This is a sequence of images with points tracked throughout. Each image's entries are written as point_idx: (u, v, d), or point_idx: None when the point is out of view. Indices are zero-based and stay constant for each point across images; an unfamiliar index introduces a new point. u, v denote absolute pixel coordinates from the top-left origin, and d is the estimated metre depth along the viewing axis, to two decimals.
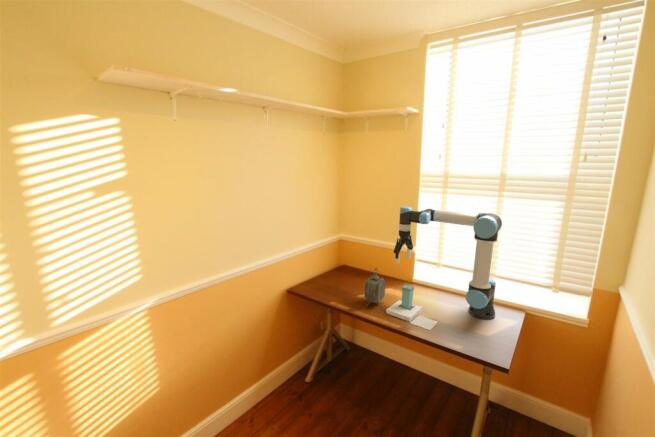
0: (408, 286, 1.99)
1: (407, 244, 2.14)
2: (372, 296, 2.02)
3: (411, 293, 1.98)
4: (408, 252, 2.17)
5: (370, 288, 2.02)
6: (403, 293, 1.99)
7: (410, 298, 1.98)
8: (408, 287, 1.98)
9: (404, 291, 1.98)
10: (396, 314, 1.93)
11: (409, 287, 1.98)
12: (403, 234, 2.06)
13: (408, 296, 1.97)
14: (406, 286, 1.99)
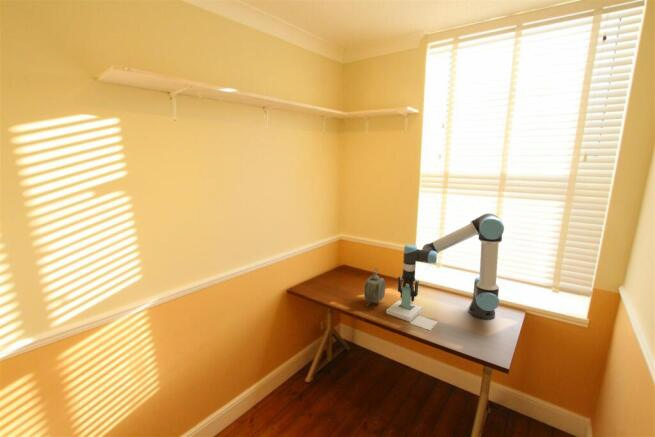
0: (408, 286, 1.99)
1: None
2: (372, 296, 2.02)
3: None
4: None
5: (370, 288, 2.02)
6: (403, 293, 1.99)
7: None
8: (408, 287, 1.98)
9: (404, 291, 1.98)
10: (396, 314, 1.93)
11: (409, 287, 1.98)
12: None
13: (408, 296, 1.97)
14: (406, 286, 1.99)
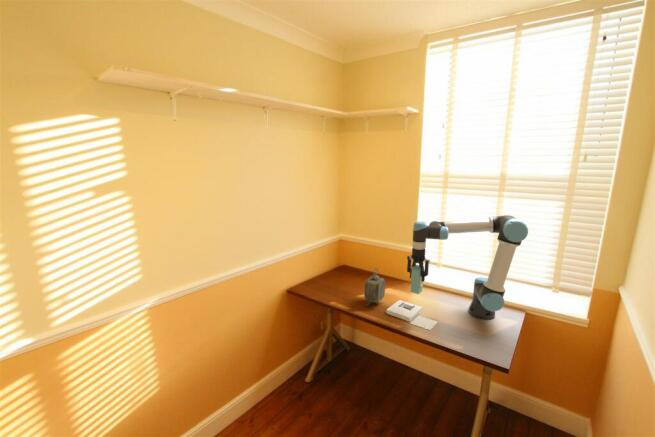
0: (418, 266, 1.89)
1: None
2: (372, 296, 2.02)
3: None
4: None
5: (370, 288, 2.02)
6: (413, 273, 1.89)
7: None
8: (418, 267, 1.88)
9: (413, 271, 1.88)
10: (396, 314, 1.93)
11: (419, 267, 1.88)
12: (412, 250, 1.88)
13: (417, 276, 1.87)
14: (416, 266, 1.89)
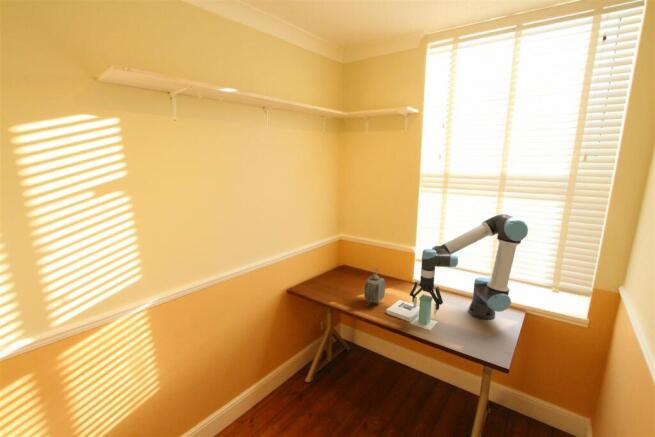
0: (426, 296, 1.84)
1: None
2: (372, 296, 2.02)
3: (429, 304, 1.83)
4: None
5: (370, 288, 2.02)
6: (421, 304, 1.83)
7: (428, 309, 1.82)
8: (426, 297, 1.82)
9: (421, 302, 1.83)
10: (396, 314, 1.93)
11: (427, 297, 1.82)
12: None
13: (426, 307, 1.81)
14: (424, 296, 1.84)
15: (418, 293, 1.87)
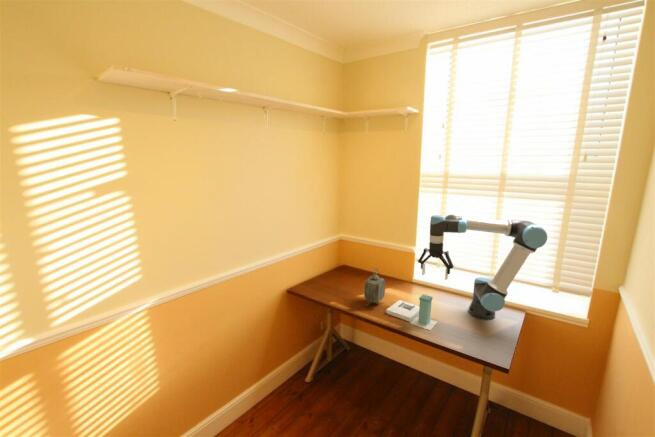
0: (426, 296, 1.84)
1: None
2: (372, 296, 2.02)
3: (429, 304, 1.83)
4: None
5: (370, 288, 2.02)
6: (421, 304, 1.83)
7: (428, 309, 1.82)
8: (426, 297, 1.82)
9: (421, 302, 1.83)
10: (396, 314, 1.93)
11: (427, 297, 1.82)
12: (429, 245, 1.85)
13: (426, 307, 1.81)
14: (424, 296, 1.84)
15: (426, 260, 1.90)
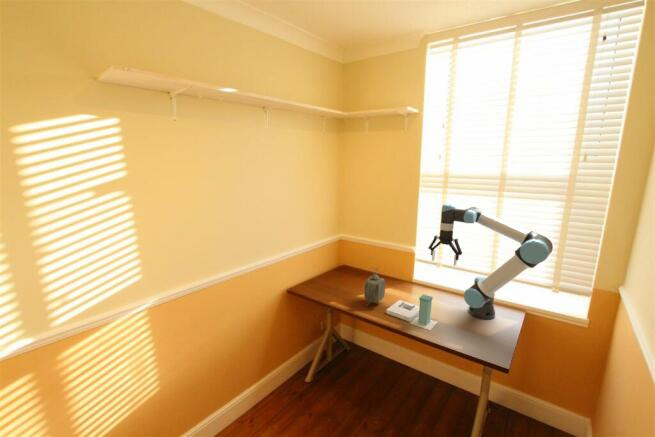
0: (426, 296, 1.84)
1: None
2: (372, 296, 2.02)
3: (429, 304, 1.83)
4: None
5: (370, 288, 2.02)
6: (421, 304, 1.83)
7: (428, 309, 1.82)
8: (426, 297, 1.82)
9: (421, 302, 1.83)
10: (396, 314, 1.93)
11: (427, 297, 1.82)
12: None
13: (426, 307, 1.81)
14: (424, 296, 1.84)
15: (436, 246, 2.00)
